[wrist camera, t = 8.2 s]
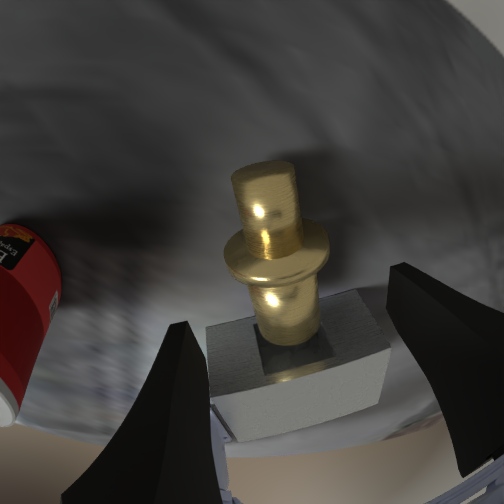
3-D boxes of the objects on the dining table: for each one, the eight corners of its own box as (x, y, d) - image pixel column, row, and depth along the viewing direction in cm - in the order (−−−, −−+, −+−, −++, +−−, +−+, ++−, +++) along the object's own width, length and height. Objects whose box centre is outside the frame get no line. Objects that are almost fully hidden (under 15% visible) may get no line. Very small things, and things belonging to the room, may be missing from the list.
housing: (352, 350, 28) (377, 403, 22) (230, 383, 28) (239, 442, 22) (355, 288, 24) (391, 347, 18) (205, 327, 23) (210, 397, 18)
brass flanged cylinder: (317, 284, 22) (345, 340, 17) (241, 304, 22) (253, 366, 17) (301, 146, 17) (341, 177, 12) (203, 168, 17) (204, 209, 12)
